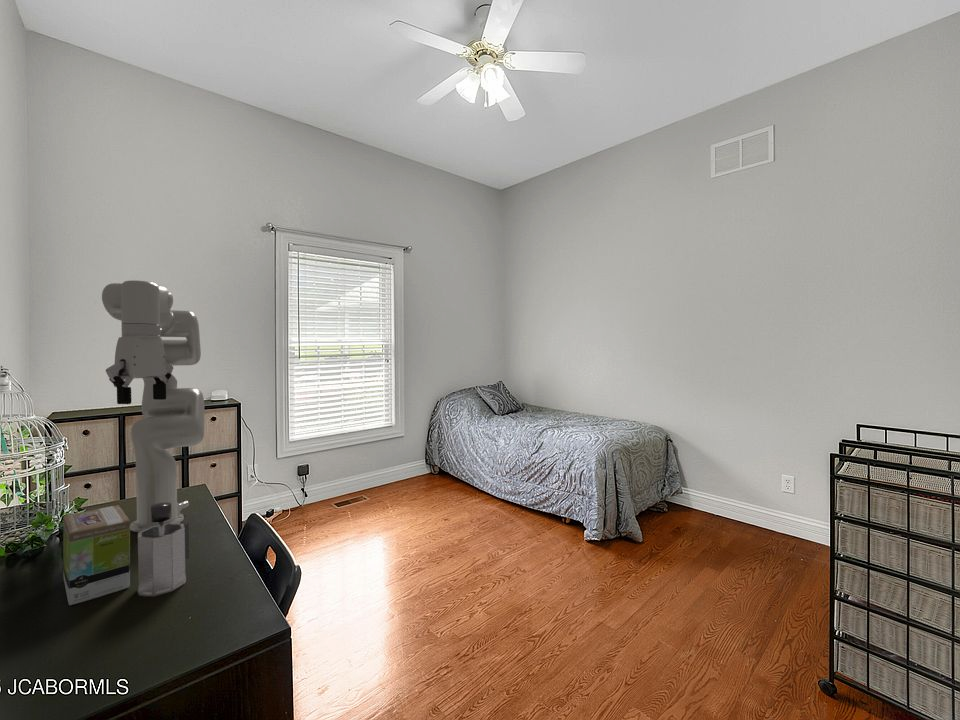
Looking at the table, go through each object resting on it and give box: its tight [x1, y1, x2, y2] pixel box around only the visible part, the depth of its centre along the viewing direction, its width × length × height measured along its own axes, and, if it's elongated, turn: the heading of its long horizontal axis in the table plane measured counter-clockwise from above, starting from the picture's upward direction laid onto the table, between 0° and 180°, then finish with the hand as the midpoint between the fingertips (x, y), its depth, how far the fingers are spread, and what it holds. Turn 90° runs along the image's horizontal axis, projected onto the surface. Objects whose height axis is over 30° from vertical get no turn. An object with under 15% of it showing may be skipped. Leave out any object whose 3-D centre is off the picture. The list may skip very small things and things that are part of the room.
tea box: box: [62, 504, 131, 606], centre depth 94 cm, size 15×10×15 cm, turn 47°
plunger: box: [151, 502, 172, 536], centre depth 93 cm, size 5×5×13 cm
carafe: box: [137, 522, 190, 598], centre depth 95 cm, size 11×8×12 cm
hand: (142, 401), depth 107 cm, fingers open, 9 cm apart
